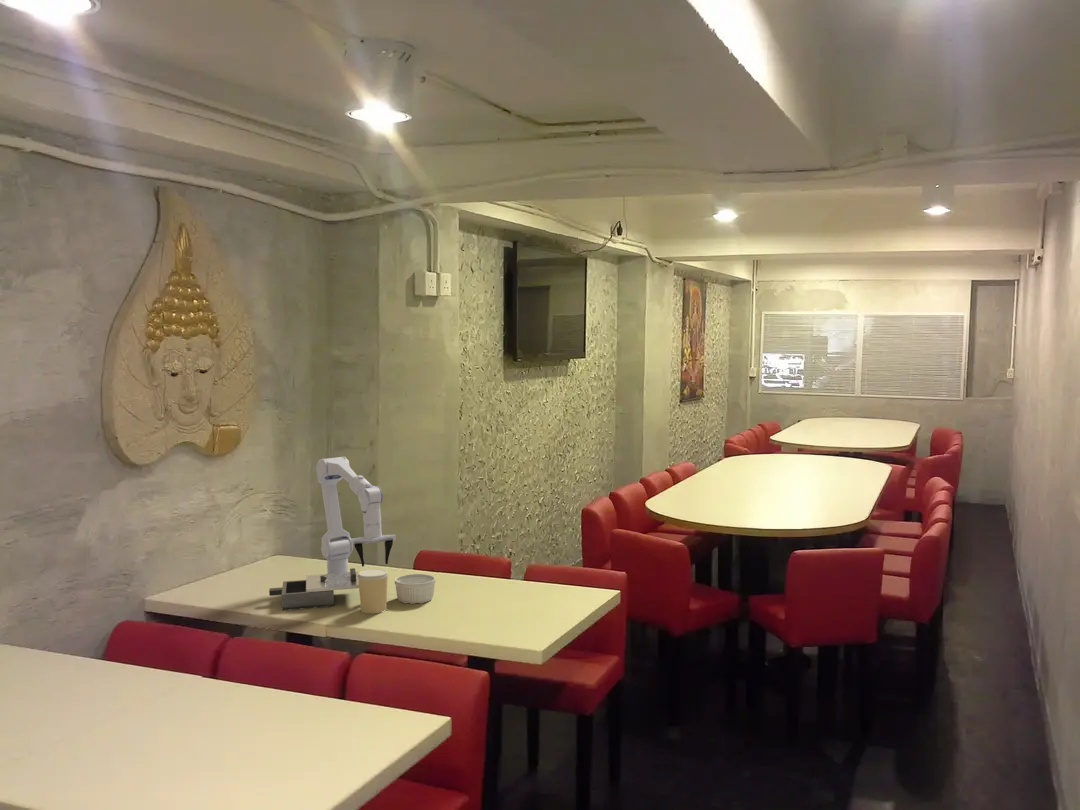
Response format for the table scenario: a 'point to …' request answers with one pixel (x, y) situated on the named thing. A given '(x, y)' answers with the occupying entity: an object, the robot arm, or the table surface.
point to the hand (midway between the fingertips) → (374, 564)
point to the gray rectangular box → (302, 596)
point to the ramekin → (415, 588)
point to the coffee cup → (373, 590)
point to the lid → (332, 581)
